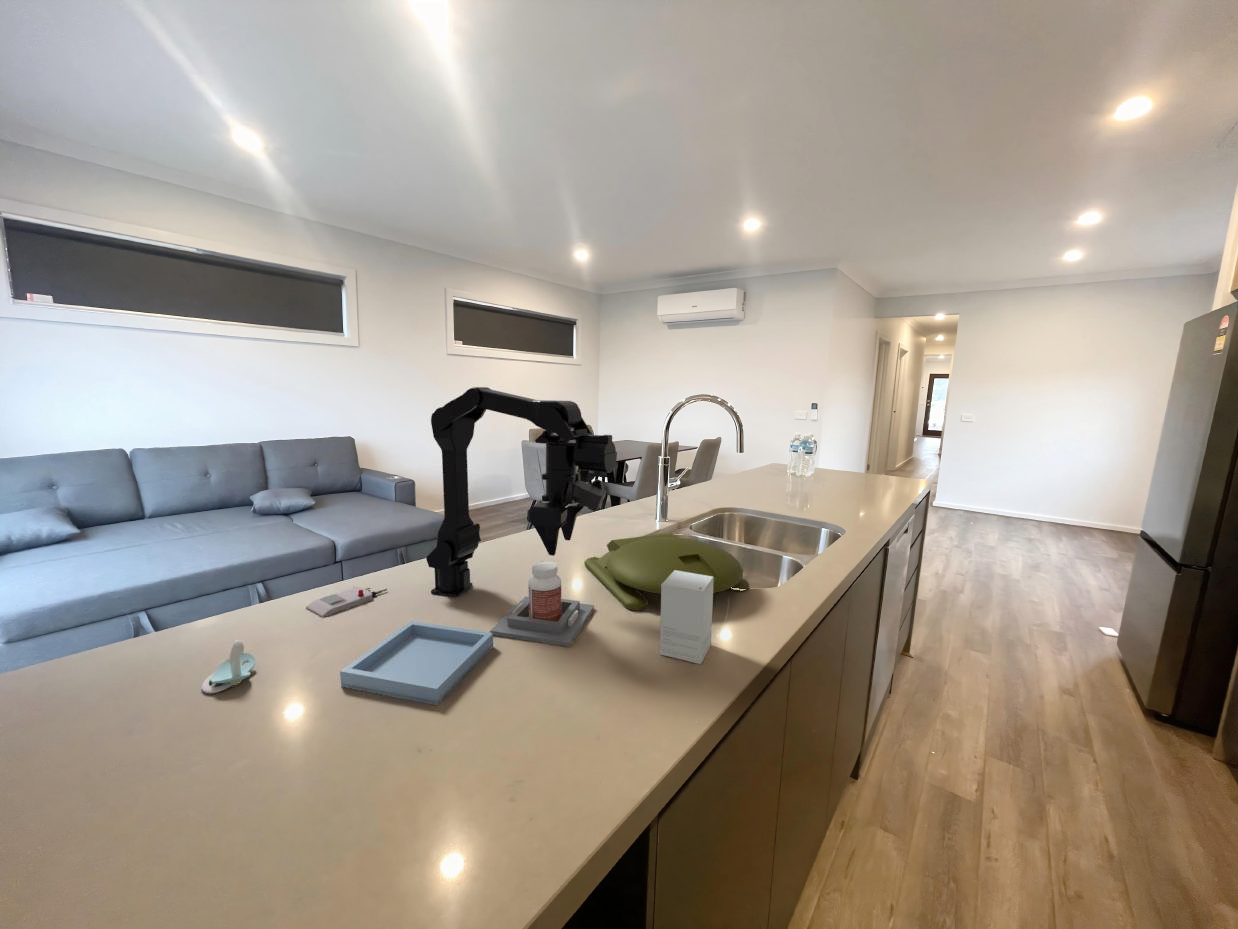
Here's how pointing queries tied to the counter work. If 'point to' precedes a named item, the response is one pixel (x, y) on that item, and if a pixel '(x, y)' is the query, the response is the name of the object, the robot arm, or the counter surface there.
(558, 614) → the pill bottle
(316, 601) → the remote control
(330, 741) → the counter surface
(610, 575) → the spaceship
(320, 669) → the counter surface
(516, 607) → the grey square frame
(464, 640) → the tray
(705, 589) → the supplement box
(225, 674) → the pacifier
